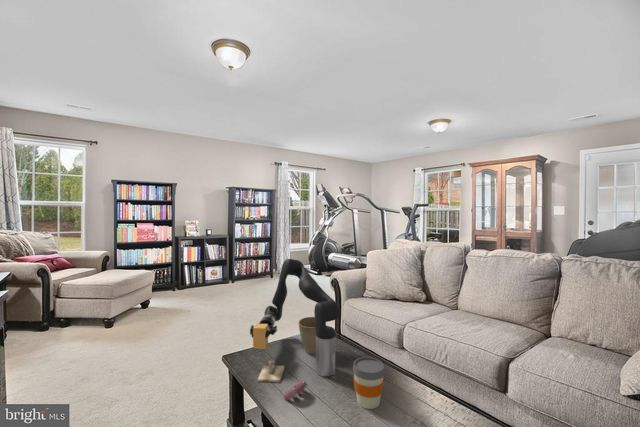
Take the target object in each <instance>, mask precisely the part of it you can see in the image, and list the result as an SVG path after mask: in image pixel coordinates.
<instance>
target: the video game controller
mask: <svg viewBox="0 0 640 427" xmlns="http://www.w3.org/2000/svg"><path fill="white" fill-rule="evenodd" d="M308 385H309V384H308V383H307V382H306V381H304V380H301V381H297V382H296V383H295V384H294V385H293V386H292V387H291V388H290V389H289V390H288V391H287V392H285V393H284V395H283V399H285V400H286V401H289V400H291V399H293V400H295V398H297V396H300V395H302V393H303V391H304V390H305V389H306V388H307V387H308Z"/></svg>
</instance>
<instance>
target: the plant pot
mask: <svg viewBox="0 0 640 427" xmlns="http://www.w3.org/2000/svg"><path fill="white" fill-rule="evenodd" d="M297 324H298V329H299V334H300V339H301V342H302V346H303V348H304V350H305V353H306V354H309V355H310V354H311V355H313V354H315V355H316V330H315V316H308V317H303V318H301V319H299V320H298V323H297Z"/></svg>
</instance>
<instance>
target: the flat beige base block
mask: <svg viewBox="0 0 640 427" xmlns="http://www.w3.org/2000/svg"><path fill="white" fill-rule="evenodd" d="M284 370H285V365H277V364H276V365H275V360H273V359H271V360H269V361H268V365H267V364H263V366H262V369H261V371H260V373H259V375H258V378H257V382H262V383H263V382H264V383H265V382H266V383H281V379H282V377H283V373H284Z"/></svg>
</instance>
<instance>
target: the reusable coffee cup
mask: <svg viewBox="0 0 640 427" xmlns="http://www.w3.org/2000/svg"><path fill="white" fill-rule="evenodd" d="M352 365H353V367H352V372H353V386H354V390H355V393H356V401H357V404H358V405H359V406H360V407H361V408H364V409H366V410H367V409H368V410H373V409H374V410H375V409H377V408H378V407H379V406H380V404H381V398H382V397H381V395H382V393H383V390H384V383H385V379H384V376H385V373H386V372H385V365H384V363H383V362H382V361H381V360H380V359H378V358H375V357H370V356H368V357H367V356H364V357H358V358H356V359H355V360H354V361H353V364H352Z"/></svg>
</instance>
